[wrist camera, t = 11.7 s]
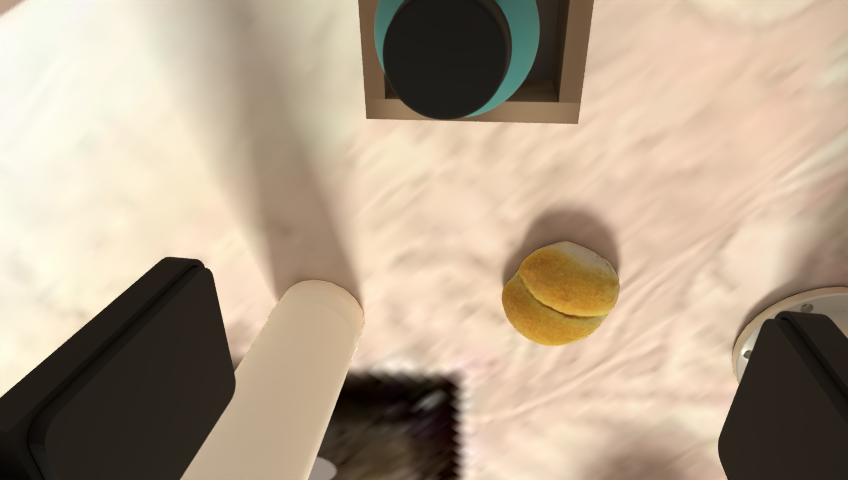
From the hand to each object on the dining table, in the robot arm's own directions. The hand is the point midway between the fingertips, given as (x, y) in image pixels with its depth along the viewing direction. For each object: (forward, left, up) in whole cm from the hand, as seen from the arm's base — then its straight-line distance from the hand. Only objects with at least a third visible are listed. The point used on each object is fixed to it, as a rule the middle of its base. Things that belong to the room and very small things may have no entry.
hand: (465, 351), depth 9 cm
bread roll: (-6, +18, -30) cm, 36 cm away
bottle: (+14, +23, -30) cm, 40 cm away
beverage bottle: (+1, -3, -29) cm, 30 cm away
